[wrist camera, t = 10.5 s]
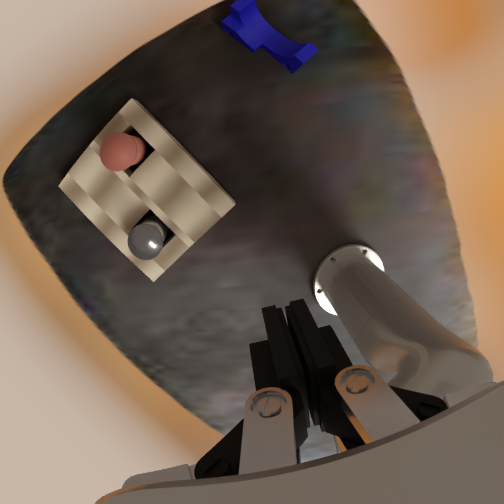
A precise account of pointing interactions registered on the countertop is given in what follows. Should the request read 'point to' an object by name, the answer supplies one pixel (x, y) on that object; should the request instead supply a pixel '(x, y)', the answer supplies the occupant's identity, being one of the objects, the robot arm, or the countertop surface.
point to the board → (147, 190)
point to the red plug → (122, 151)
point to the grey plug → (147, 238)
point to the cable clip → (264, 35)
